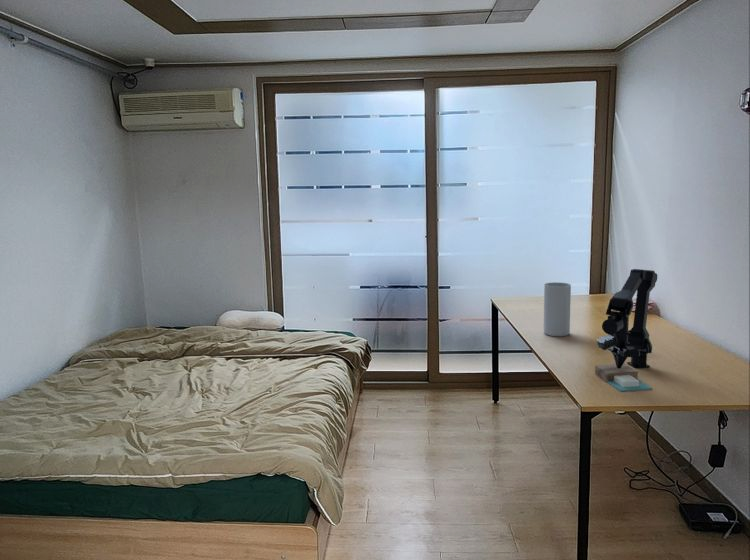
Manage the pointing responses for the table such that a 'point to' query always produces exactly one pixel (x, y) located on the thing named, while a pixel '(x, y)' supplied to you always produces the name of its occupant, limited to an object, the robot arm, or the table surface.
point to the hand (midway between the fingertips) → (618, 368)
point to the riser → (614, 371)
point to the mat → (633, 388)
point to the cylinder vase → (557, 309)
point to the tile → (626, 380)
